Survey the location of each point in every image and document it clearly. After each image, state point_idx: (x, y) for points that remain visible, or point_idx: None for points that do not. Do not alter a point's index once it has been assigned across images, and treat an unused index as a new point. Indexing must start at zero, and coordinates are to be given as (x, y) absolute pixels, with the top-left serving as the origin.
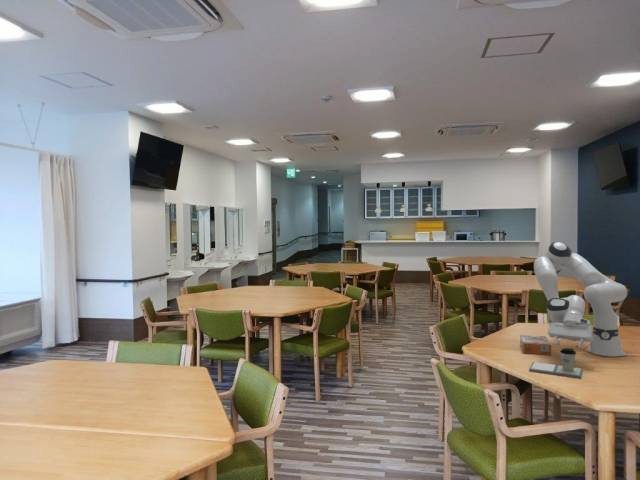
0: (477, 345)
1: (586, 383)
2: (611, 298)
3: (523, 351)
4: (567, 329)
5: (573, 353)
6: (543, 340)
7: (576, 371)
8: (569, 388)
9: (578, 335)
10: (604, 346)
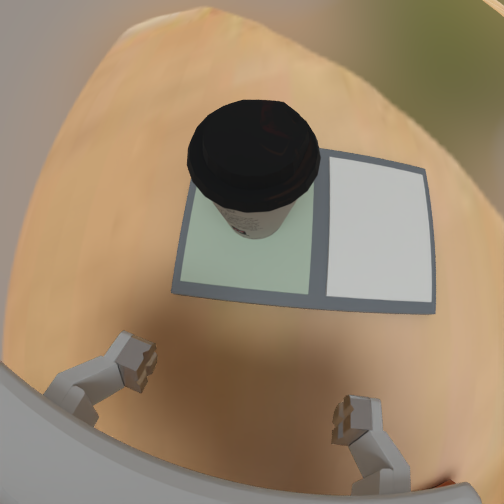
0: None
1: (191, 103)
2: None
3: (453, 482)
4: None
5: (213, 112)
6: None
7: (211, 202)
8: (256, 48)
9: (69, 439)
10: None
